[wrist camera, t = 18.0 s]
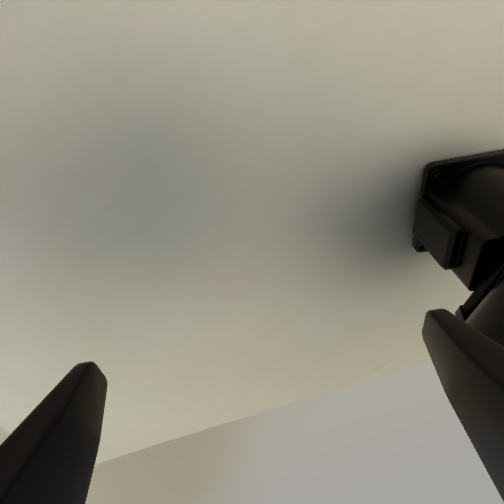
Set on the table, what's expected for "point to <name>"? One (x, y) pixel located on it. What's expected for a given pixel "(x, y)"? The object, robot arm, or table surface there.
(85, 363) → the robot arm
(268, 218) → the table surface
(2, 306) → the table surface
